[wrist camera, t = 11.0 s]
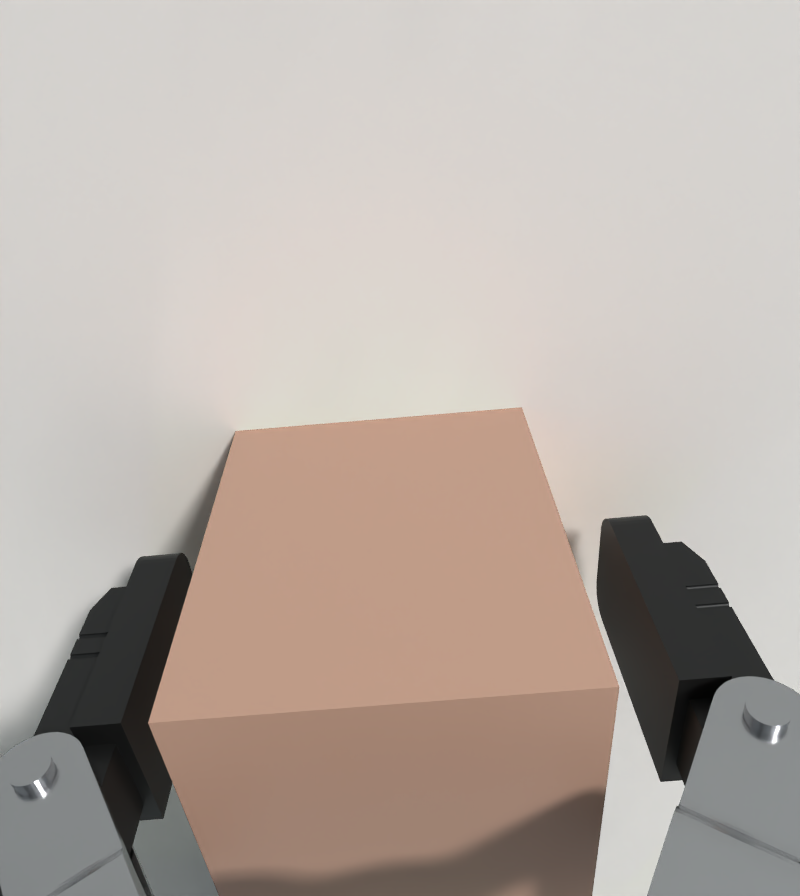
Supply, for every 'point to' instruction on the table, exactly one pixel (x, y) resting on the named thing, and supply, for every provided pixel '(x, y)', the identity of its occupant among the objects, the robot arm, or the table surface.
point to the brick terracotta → (389, 669)
